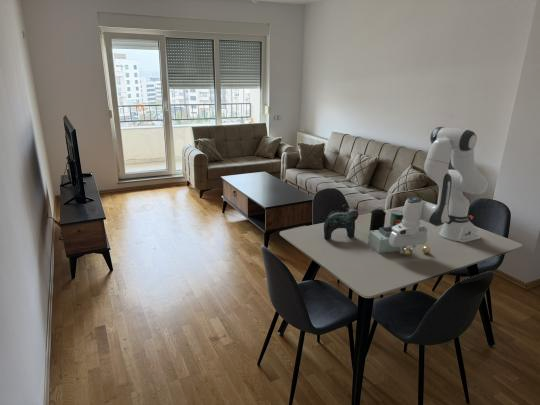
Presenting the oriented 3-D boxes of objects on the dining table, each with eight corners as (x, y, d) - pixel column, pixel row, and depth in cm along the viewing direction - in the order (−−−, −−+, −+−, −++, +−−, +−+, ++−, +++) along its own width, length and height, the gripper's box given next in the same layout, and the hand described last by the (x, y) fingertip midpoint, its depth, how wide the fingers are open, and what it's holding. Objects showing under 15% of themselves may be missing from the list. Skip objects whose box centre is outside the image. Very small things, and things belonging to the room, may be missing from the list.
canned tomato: (393, 225, 236) (395, 209, 233) (404, 229, 231) (407, 212, 227) (386, 228, 231) (388, 212, 227) (398, 232, 226) (400, 215, 222)
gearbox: (393, 241, 214) (395, 224, 210) (405, 250, 203) (408, 232, 199) (367, 243, 210) (369, 226, 207) (378, 253, 199) (380, 235, 196)
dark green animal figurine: (353, 234, 223) (356, 202, 216) (358, 238, 217) (361, 205, 210) (321, 236, 218) (324, 204, 212) (326, 241, 212) (328, 208, 206)
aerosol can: (383, 242, 213) (387, 208, 206) (368, 240, 214) (372, 207, 208) (382, 236, 220) (386, 204, 214) (367, 234, 222) (371, 202, 215)
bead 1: (406, 253, 200) (408, 246, 198) (411, 256, 196) (412, 249, 195) (400, 254, 199) (401, 247, 198) (404, 257, 195) (405, 250, 194)
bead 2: (426, 251, 202) (427, 244, 201) (431, 254, 199) (432, 247, 197) (420, 252, 202) (421, 245, 200) (424, 255, 198) (425, 248, 197)
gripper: (423, 224, 198) (420, 248, 202) (389, 227, 193) (385, 251, 197) (431, 228, 192) (427, 253, 196) (395, 232, 187) (392, 256, 192)
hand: (406, 252), depth 197 cm, fingers closed on bead 1, 4 cm apart
